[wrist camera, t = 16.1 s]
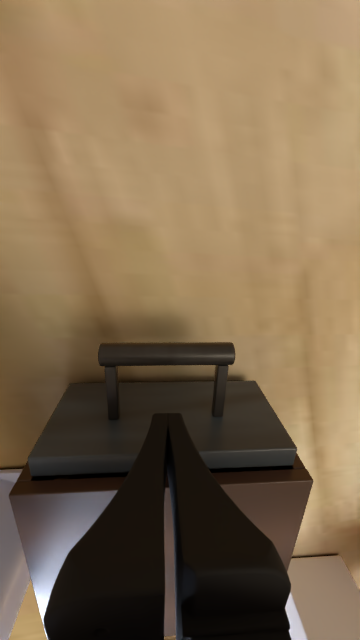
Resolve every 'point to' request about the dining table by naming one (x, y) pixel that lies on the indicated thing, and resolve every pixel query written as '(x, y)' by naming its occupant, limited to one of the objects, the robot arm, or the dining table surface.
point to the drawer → (160, 397)
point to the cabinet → (96, 493)
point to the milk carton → (322, 600)
